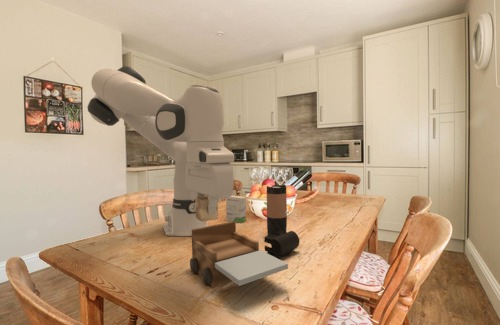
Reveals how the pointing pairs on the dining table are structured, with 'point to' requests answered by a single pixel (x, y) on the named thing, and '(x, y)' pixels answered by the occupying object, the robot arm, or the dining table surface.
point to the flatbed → (217, 250)
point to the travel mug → (276, 209)
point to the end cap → (281, 243)
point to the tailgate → (250, 267)
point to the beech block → (204, 209)
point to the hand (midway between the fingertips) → (206, 211)
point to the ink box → (236, 209)
